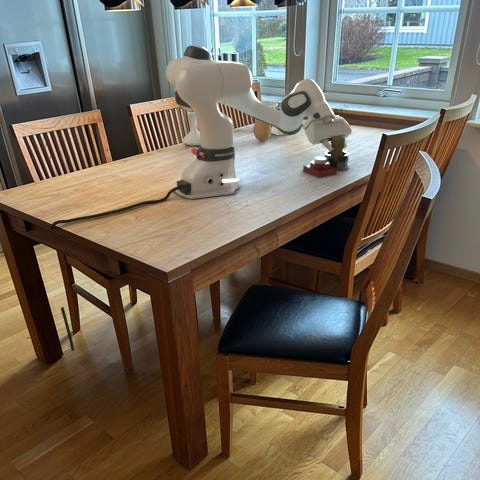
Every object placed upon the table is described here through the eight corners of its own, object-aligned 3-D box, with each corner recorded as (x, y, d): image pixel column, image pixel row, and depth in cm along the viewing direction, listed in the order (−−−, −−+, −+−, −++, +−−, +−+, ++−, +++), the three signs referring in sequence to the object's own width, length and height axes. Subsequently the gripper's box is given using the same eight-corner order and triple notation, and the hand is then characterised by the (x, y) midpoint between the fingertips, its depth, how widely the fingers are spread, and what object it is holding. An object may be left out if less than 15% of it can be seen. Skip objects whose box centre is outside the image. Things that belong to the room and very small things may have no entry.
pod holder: (333, 172, 184) (335, 157, 181) (319, 166, 191) (320, 152, 188) (351, 168, 188) (353, 154, 185) (336, 163, 195) (338, 149, 192)
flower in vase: (210, 142, 227) (207, 83, 214) (202, 148, 218) (199, 87, 204) (184, 141, 230) (179, 83, 216) (175, 146, 221) (170, 86, 207)
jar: (277, 130, 246) (277, 105, 240) (292, 132, 243) (293, 106, 237) (269, 134, 240) (270, 108, 233) (285, 136, 237) (285, 109, 230)
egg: (271, 139, 231) (271, 114, 225) (270, 143, 224) (270, 117, 218) (254, 139, 232) (254, 114, 226) (252, 143, 225) (252, 117, 219)
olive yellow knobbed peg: (342, 168, 186) (346, 138, 180) (327, 167, 187) (329, 138, 181) (343, 164, 191) (346, 135, 185) (327, 163, 192) (330, 134, 186)
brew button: (319, 165, 180) (319, 160, 179) (311, 162, 183) (312, 157, 182) (328, 163, 181) (328, 158, 180) (321, 160, 185) (321, 156, 184)
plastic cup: (263, 130, 248) (263, 105, 241) (252, 126, 256) (253, 102, 249) (281, 128, 252) (282, 103, 246) (270, 124, 260) (270, 100, 254)
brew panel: (319, 177, 179) (320, 166, 177) (303, 171, 186) (303, 160, 184) (336, 174, 182) (337, 163, 180) (319, 168, 189) (320, 157, 187)
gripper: (336, 120, 194) (351, 149, 193) (298, 127, 184) (315, 158, 183) (345, 109, 189) (361, 140, 188) (307, 116, 179) (324, 148, 177)
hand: (338, 149), depth 185 cm, fingers open, 6 cm apart
